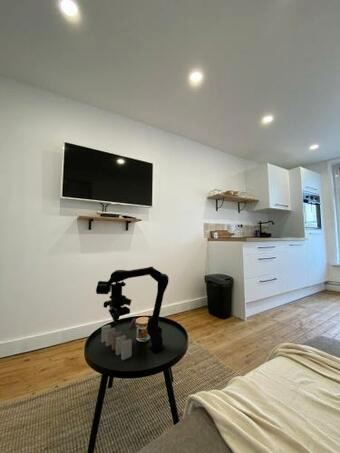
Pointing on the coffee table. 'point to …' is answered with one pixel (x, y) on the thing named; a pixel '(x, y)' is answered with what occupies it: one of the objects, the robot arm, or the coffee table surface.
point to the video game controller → (132, 323)
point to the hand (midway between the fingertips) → (115, 323)
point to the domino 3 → (115, 339)
